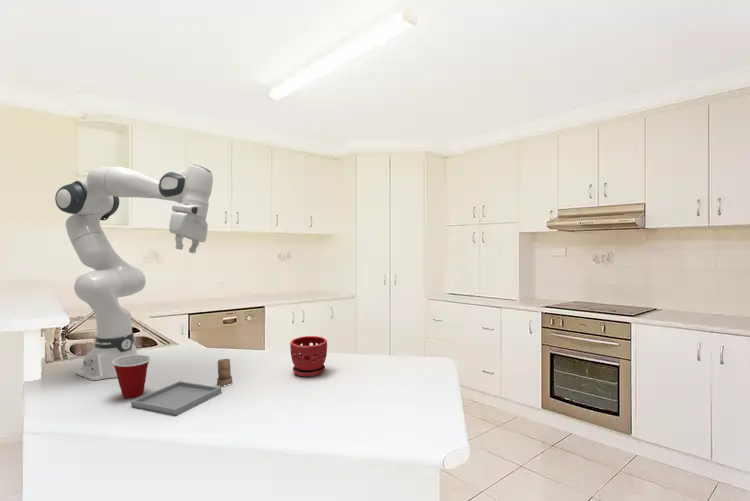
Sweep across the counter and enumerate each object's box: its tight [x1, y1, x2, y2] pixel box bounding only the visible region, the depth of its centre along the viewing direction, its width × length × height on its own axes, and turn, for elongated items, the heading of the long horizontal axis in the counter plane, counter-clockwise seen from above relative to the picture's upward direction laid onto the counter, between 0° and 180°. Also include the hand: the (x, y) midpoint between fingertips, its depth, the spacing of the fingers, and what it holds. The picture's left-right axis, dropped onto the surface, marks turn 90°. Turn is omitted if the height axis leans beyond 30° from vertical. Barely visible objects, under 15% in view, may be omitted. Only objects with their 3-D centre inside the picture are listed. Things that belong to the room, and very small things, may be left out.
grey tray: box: [130, 380, 222, 417], centre depth 134 cm, size 18×18×2 cm
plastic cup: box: [112, 354, 152, 400], centre depth 139 cm, size 11×11×12 cm
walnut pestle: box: [216, 358, 233, 387], centre depth 147 cm, size 5×5×8 cm
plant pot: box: [289, 335, 328, 378], centre depth 156 cm, size 13×13×12 cm
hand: (185, 251), depth 147 cm, fingers open, 8 cm apart
